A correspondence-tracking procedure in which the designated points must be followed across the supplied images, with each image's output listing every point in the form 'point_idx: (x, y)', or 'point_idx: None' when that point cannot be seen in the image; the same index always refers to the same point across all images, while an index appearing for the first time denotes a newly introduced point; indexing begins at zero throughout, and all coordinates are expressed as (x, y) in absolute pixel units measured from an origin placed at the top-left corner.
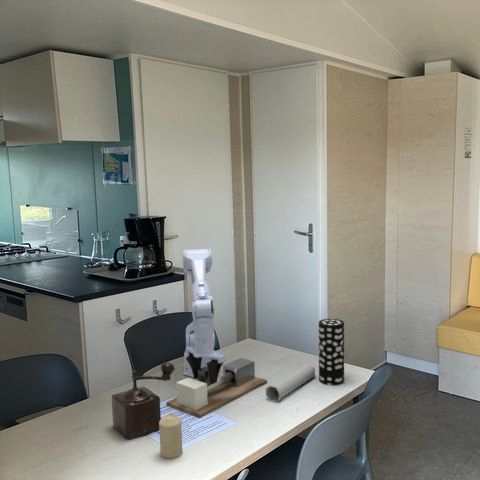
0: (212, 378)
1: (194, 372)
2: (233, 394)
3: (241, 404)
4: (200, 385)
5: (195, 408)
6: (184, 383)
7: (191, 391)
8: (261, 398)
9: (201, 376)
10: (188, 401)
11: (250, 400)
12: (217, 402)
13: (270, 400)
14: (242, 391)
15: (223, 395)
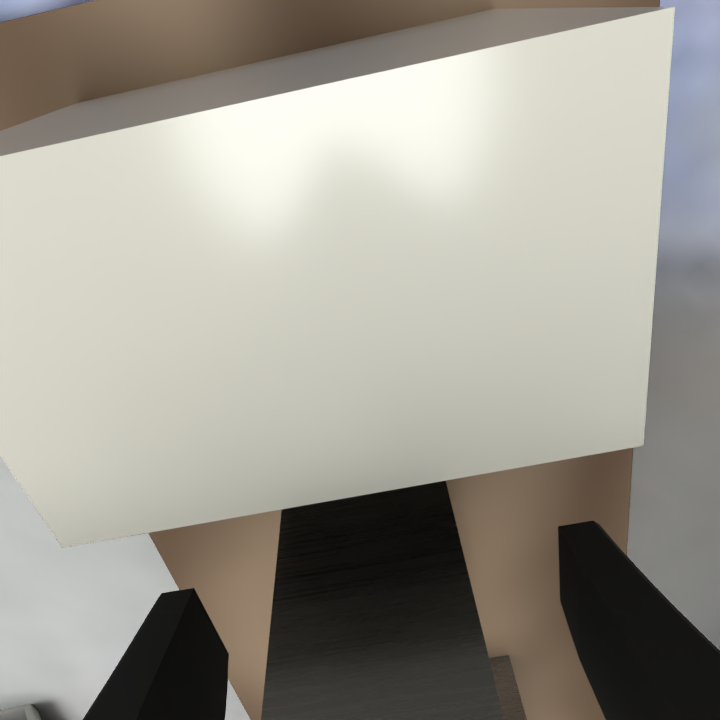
0: (100, 702)
1: (618, 629)
2: (234, 606)
3: (63, 559)
4: (18, 414)
5: (77, 104)
6: (403, 179)
7: (30, 135)
8: (91, 689)
9: (370, 625)
10: (211, 77)
11: (101, 633)
12: None
13: (19, 709)
14: (242, 671)
15: (273, 545)
